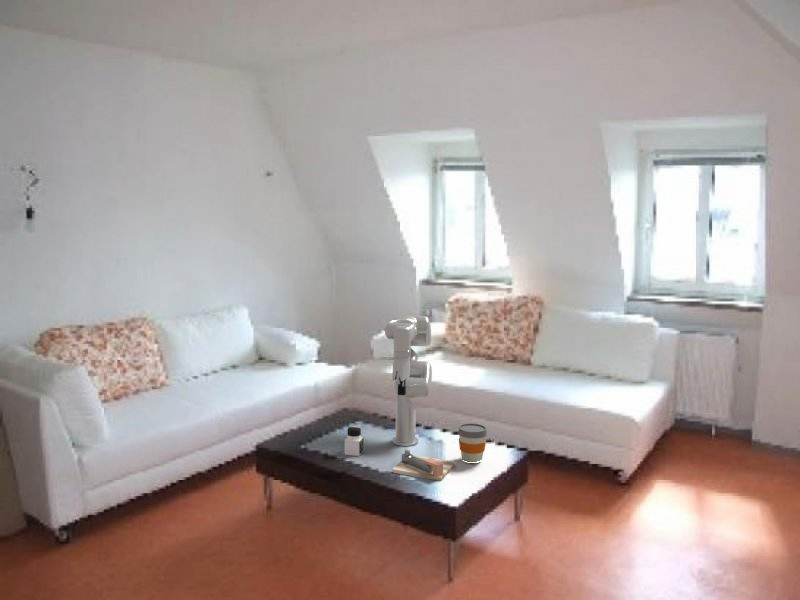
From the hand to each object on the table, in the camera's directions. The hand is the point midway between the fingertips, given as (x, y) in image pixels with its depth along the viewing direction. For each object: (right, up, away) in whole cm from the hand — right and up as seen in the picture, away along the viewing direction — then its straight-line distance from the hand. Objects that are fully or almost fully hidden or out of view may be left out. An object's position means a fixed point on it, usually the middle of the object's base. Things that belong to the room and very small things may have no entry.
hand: (401, 394), depth 291 cm
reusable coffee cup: (+31, -30, +2) cm, 43 cm away
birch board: (+10, -31, -9) cm, 33 cm away
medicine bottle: (-22, -28, +9) cm, 37 cm away
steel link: (+7, -29, -10) cm, 31 cm away
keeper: (+13, -30, -17) cm, 37 cm away
